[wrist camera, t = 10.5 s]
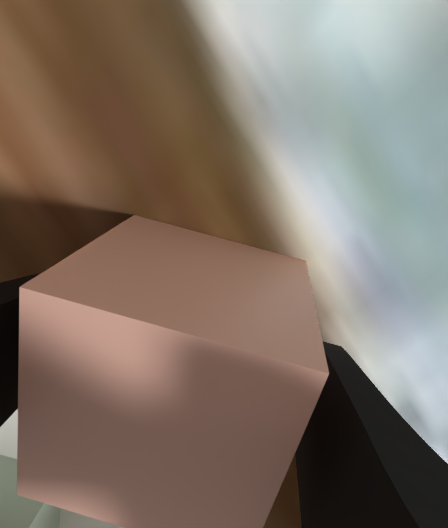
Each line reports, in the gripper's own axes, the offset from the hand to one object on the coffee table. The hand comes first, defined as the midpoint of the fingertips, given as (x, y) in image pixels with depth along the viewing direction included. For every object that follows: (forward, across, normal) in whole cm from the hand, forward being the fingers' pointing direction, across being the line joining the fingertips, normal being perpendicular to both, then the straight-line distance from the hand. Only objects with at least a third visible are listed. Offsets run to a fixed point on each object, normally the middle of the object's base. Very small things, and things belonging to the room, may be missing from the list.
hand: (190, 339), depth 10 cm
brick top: (+2, 0, 0) cm, 2 cm away
